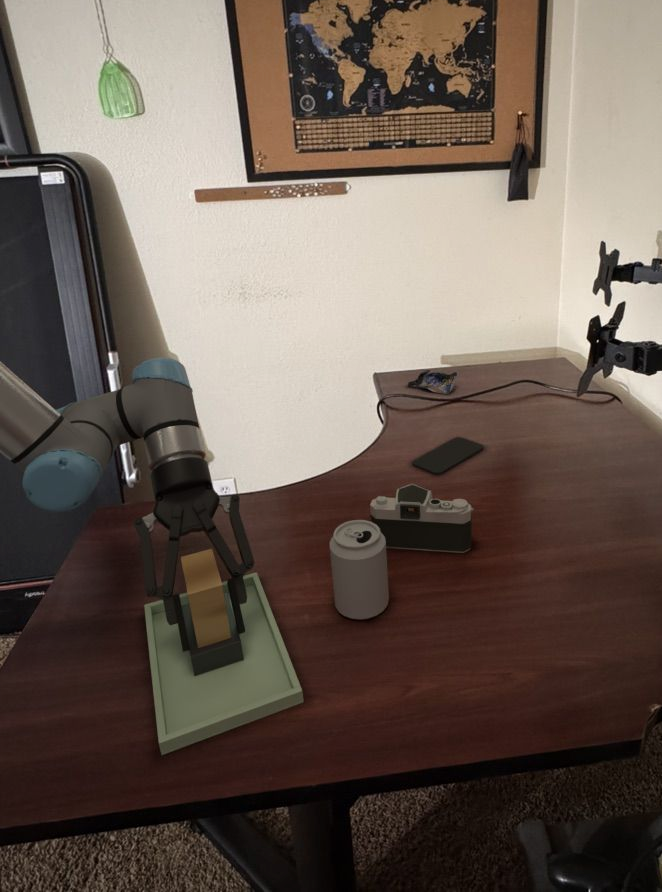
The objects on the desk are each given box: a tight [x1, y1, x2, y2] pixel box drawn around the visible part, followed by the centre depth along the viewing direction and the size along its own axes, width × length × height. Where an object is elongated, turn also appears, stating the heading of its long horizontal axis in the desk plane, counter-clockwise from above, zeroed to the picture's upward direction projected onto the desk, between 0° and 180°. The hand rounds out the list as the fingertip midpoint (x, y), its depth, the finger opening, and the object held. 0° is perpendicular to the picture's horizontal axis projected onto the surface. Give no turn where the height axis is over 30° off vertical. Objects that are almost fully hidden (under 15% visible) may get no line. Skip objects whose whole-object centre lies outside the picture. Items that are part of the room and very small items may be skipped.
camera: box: [369, 483, 475, 554], centre depth 99 cm, size 16×9×10 cm, turn 80°
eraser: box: [180, 548, 244, 676], centre depth 79 cm, size 10×6×11 cm, turn 23°
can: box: [329, 519, 390, 620], centre depth 85 cm, size 8×8×12 cm
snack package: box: [407, 369, 458, 395], centre depth 162 cm, size 12×6×12 cm
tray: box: [143, 572, 305, 756], centre depth 79 cm, size 24×16×2 cm, turn 23°
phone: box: [411, 436, 484, 476], centre depth 126 cm, size 7×1×15 cm
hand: (214, 640), depth 77 cm, fingers closed on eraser, 6 cm apart
